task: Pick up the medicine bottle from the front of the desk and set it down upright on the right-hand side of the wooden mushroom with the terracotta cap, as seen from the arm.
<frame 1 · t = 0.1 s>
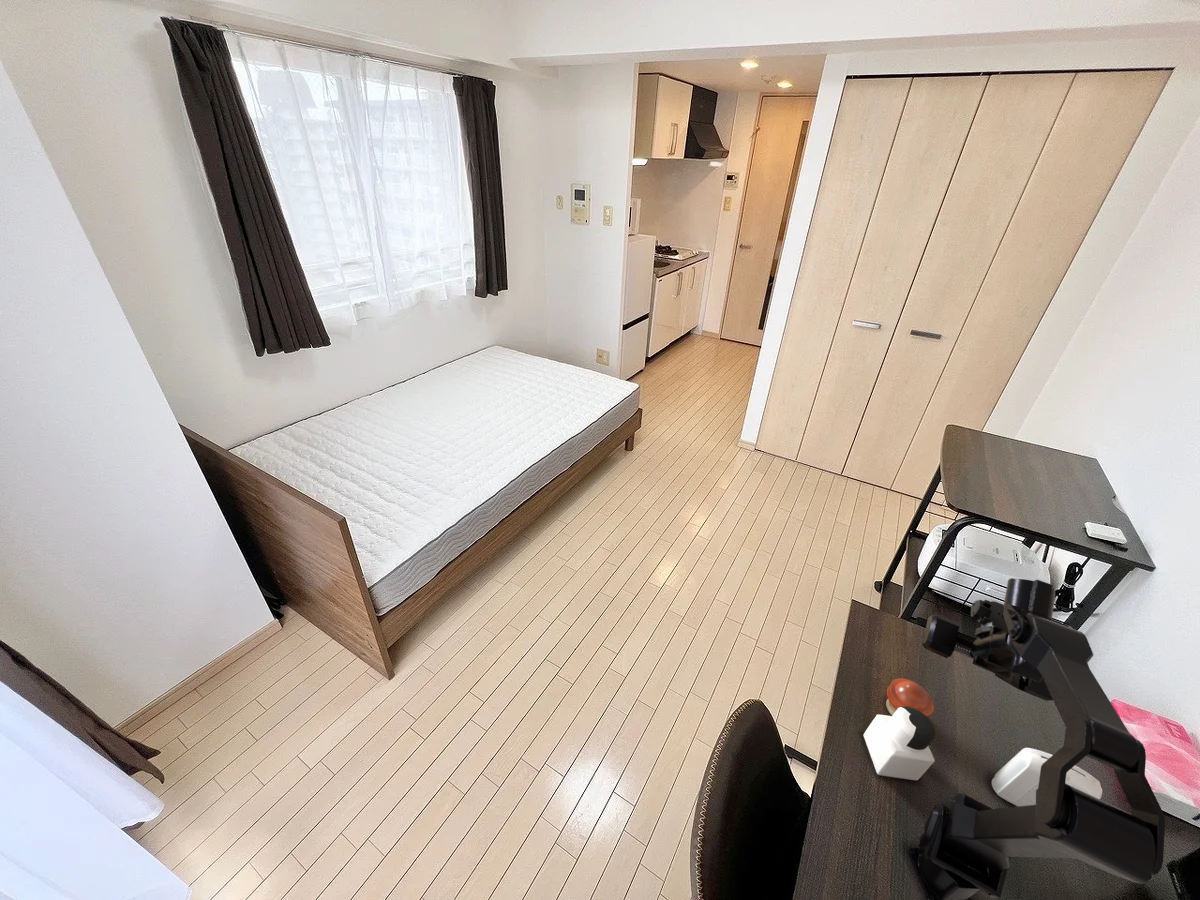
hand: (966, 660, 89), 15 cm above the table, tool tilted 35°, fingers open, 9 cm apart
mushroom: (901, 710, 95), on the table
photo printer: (1025, 802, 83), on the table
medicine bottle: (888, 757, 87), on the table
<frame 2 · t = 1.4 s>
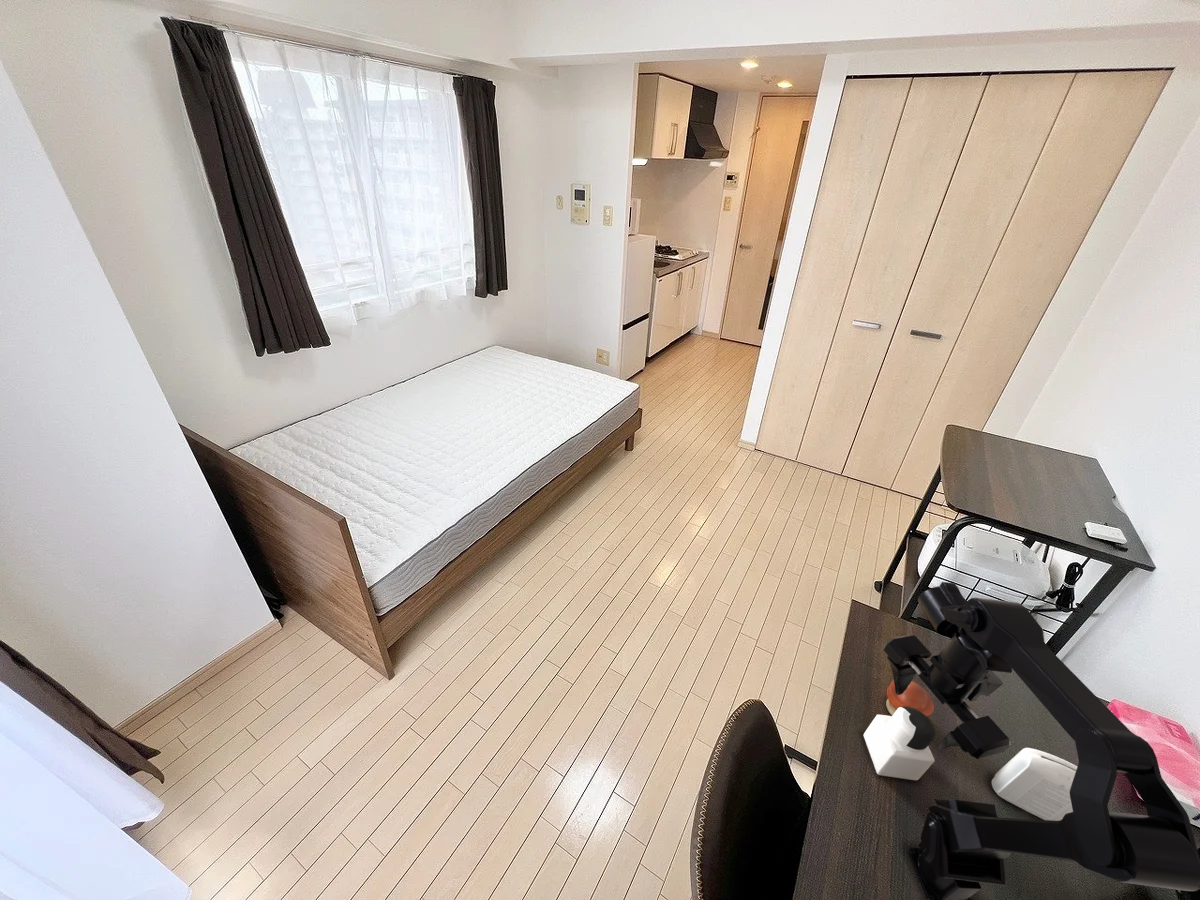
hand: (919, 719, 81), 13 cm above the table, tool pointing down, fingers open, 9 cm apart
nothing on the table moved.
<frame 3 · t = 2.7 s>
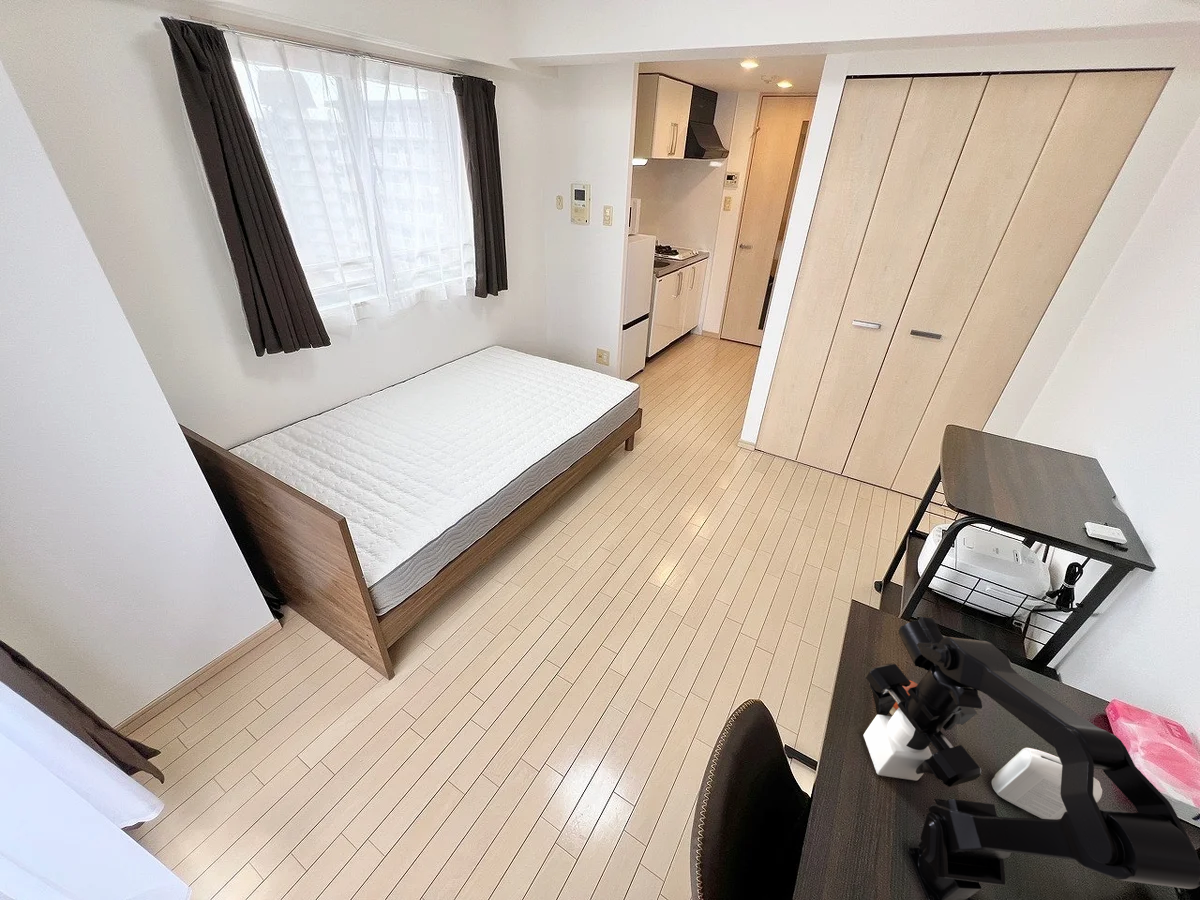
hand: (898, 744, 85), 4 cm above the table, tool pointing down
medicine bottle: (888, 757, 87), on the table, touching gripper
everything else where it was.
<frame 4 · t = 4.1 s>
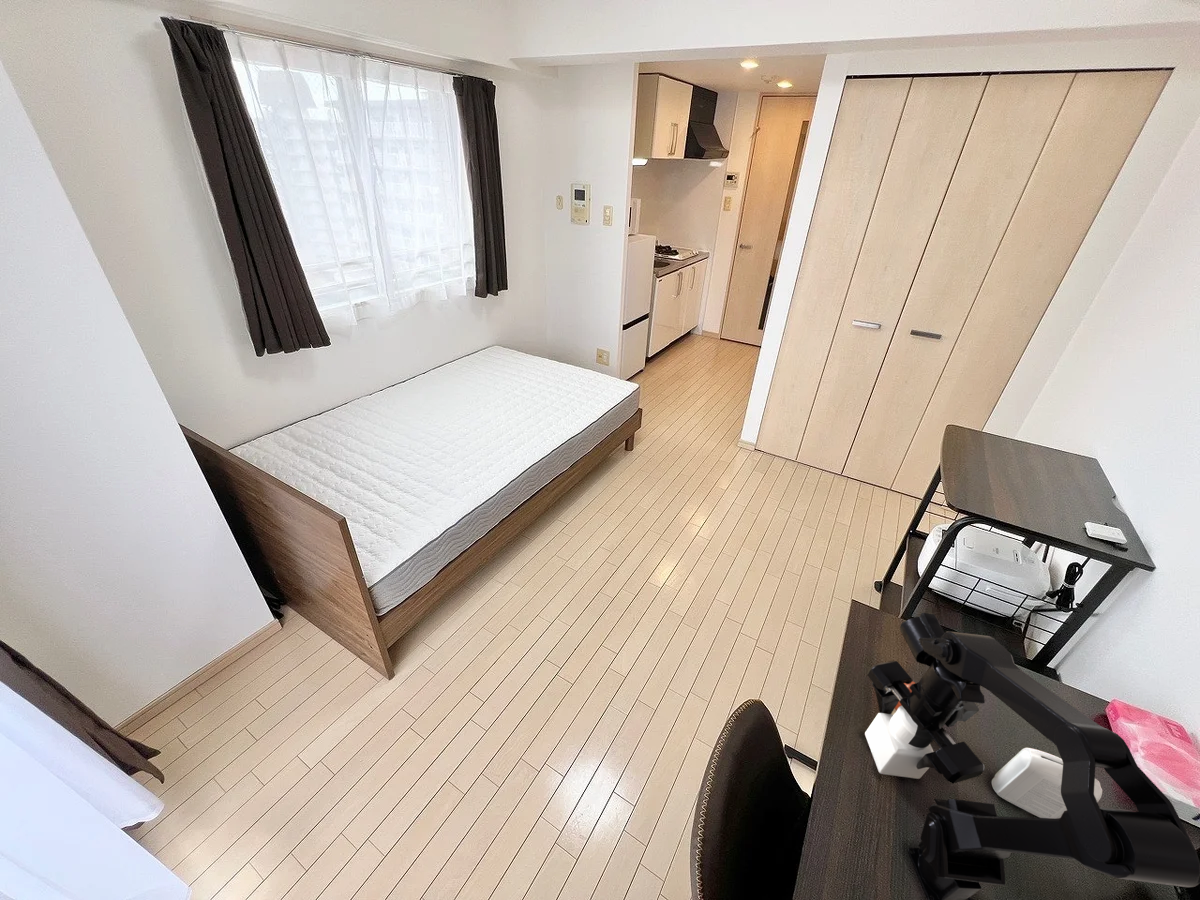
hand: (900, 742, 85), 5 cm above the table, tool pointing down, fingers closed on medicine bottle, 8 cm apart
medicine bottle: (890, 756, 87), on the table, touching gripper
everything else where it was.
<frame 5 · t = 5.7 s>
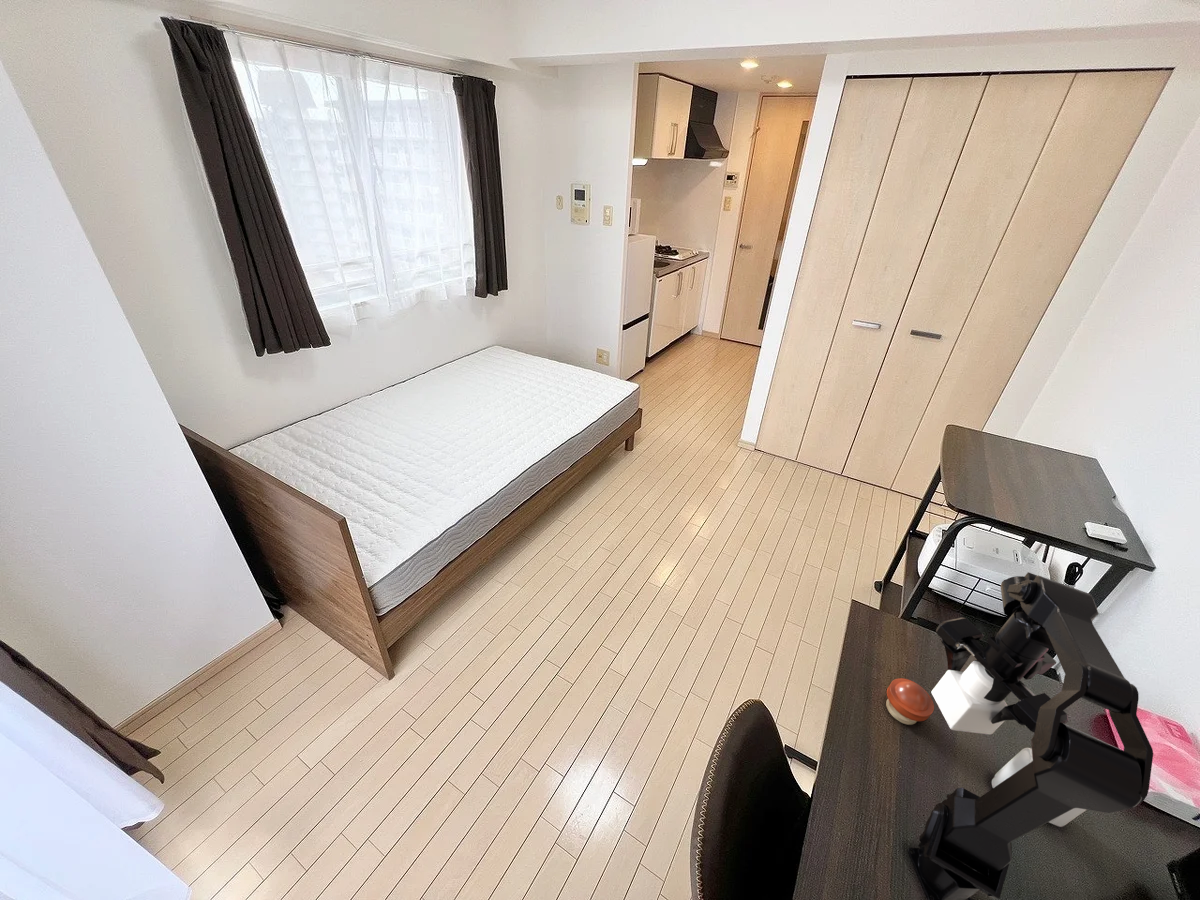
hand: (971, 698, 84), 13 cm above the table, tool pointing down, fingers closed on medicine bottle, 8 cm apart
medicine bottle: (959, 713, 86), point 9 cm above the table, touching gripper
everything else where it was.
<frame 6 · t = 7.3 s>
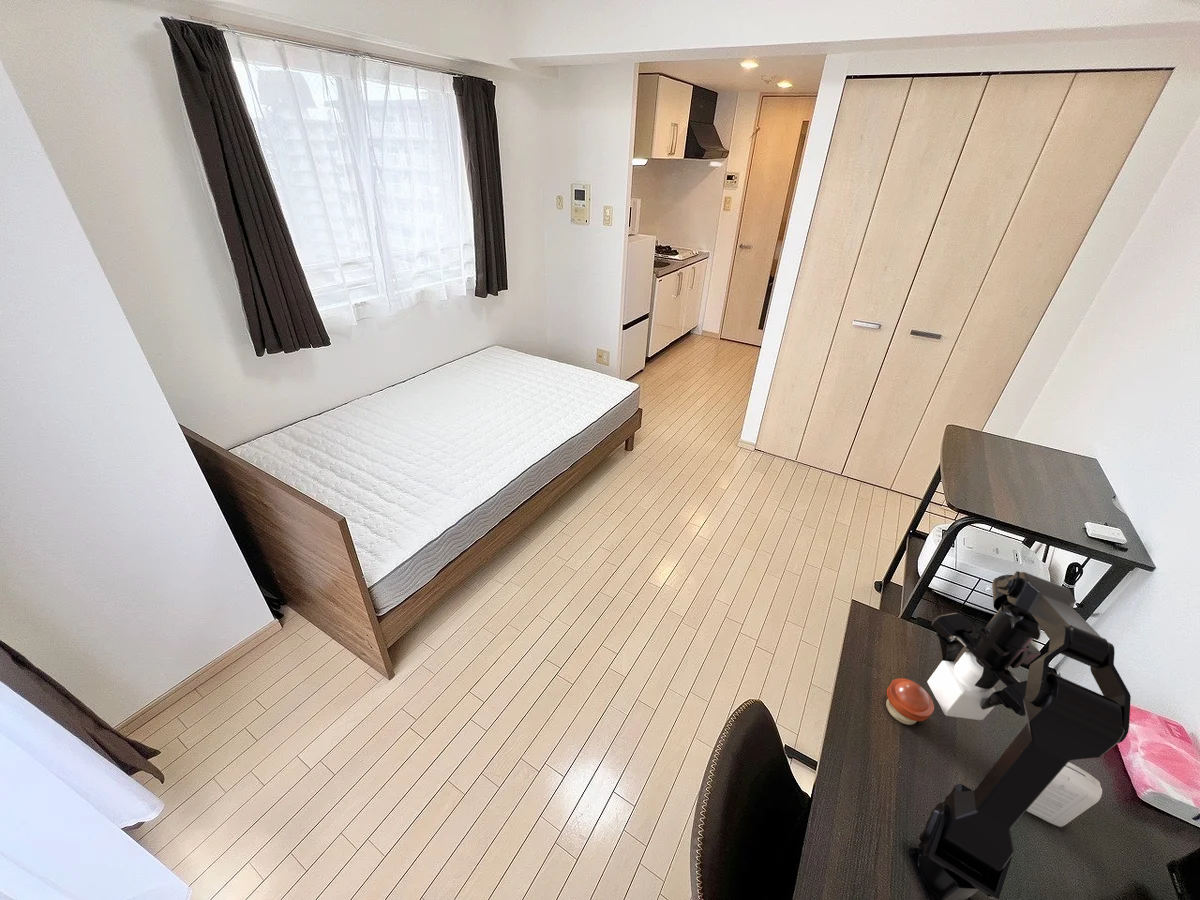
hand: (964, 687, 91), 8 cm above the table, tool pointing down, fingers closed on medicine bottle, 8 cm apart
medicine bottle: (952, 701, 94), point 4 cm above the table, touching gripper
everything else where it was.
when the fingers open (5 cm above the table, at t = 8.8 s): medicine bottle stays where it is, on the table.
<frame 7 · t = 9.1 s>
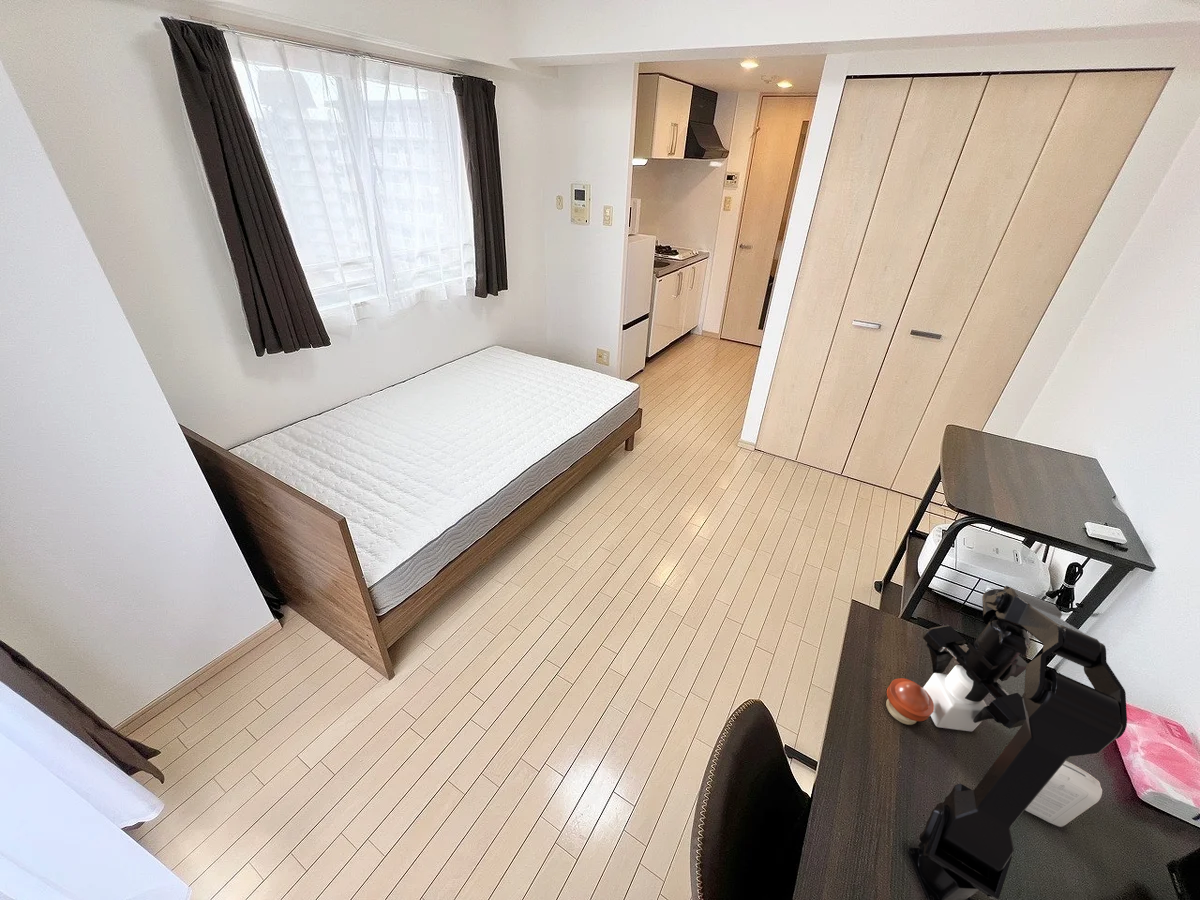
hand: (955, 698, 93), 5 cm above the table, tool pointing down, fingers open, 9 cm apart
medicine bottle: (944, 712, 96), on the table
everything else where it was.
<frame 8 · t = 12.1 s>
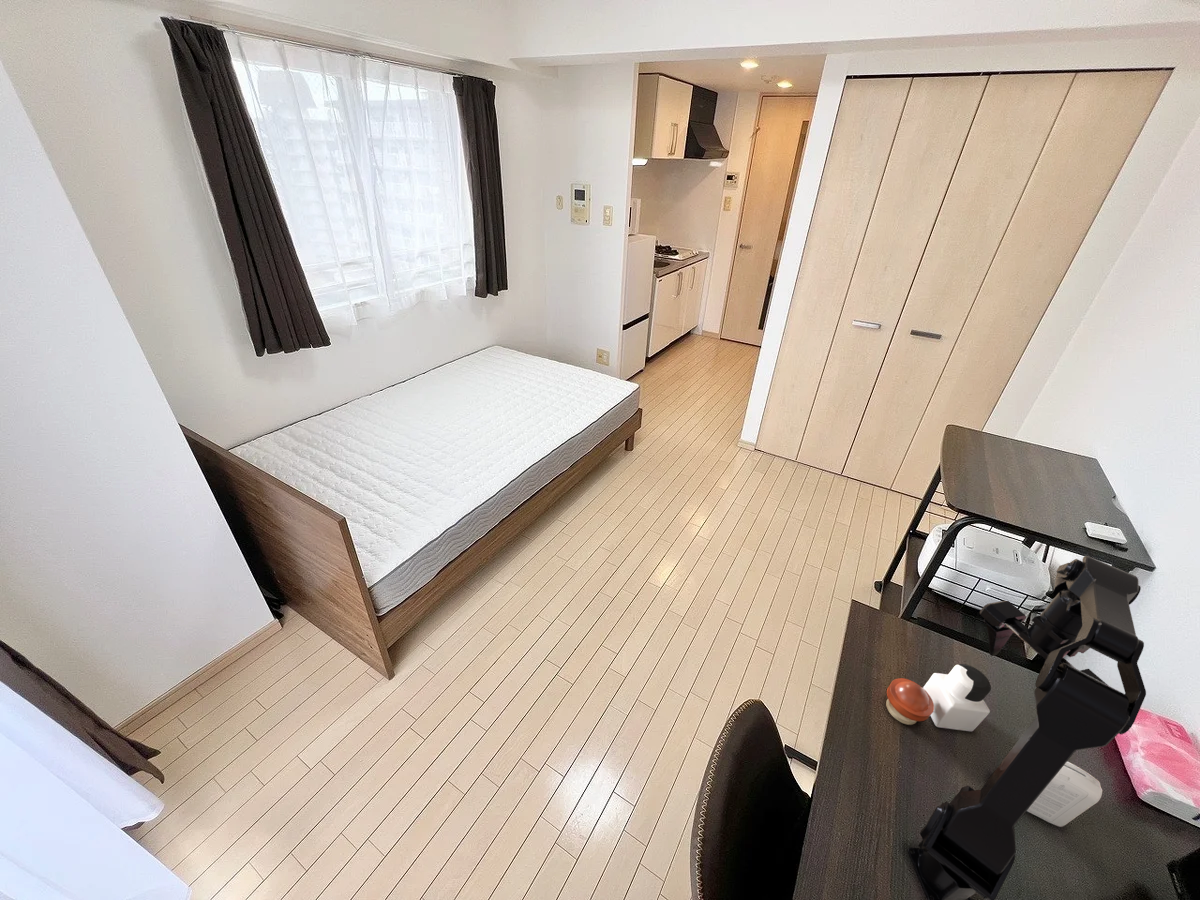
hand: (1015, 676, 89), 13 cm above the table, tool pointing down, fingers open, 9 cm apart
nothing on the table moved.
at the end: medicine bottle 0.7 cm from the target spot on the table beside the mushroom, on the table; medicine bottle tilted 0°; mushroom moved 0.0 cm from its start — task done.
